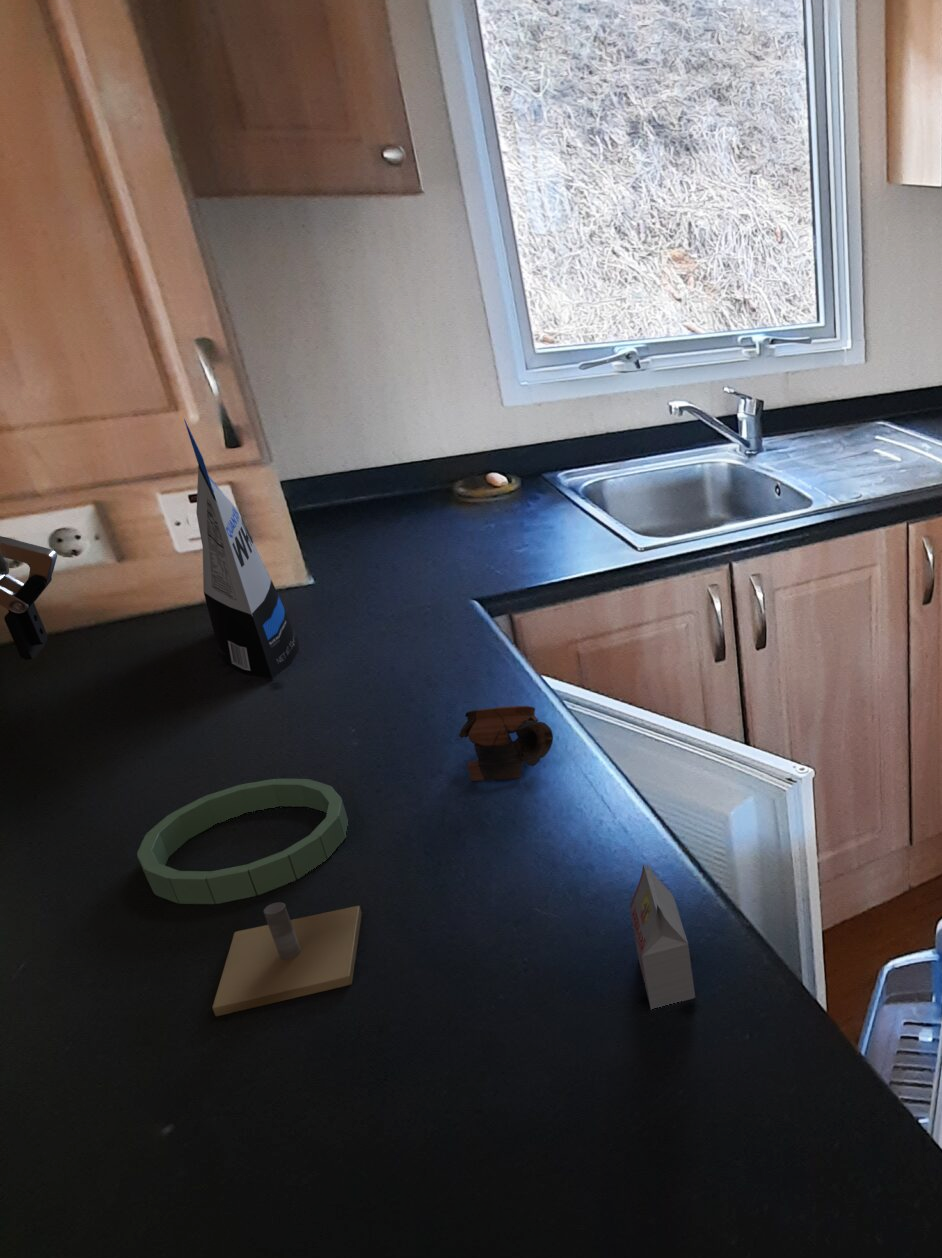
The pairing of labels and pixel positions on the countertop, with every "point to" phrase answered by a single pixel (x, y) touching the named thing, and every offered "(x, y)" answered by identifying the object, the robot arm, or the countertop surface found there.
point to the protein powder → (239, 587)
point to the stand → (288, 958)
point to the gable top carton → (661, 943)
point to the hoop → (256, 874)
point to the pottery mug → (505, 741)
